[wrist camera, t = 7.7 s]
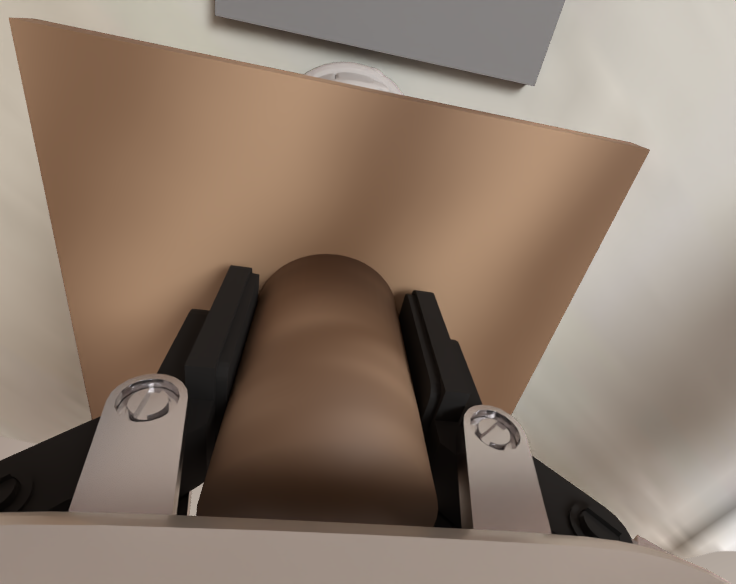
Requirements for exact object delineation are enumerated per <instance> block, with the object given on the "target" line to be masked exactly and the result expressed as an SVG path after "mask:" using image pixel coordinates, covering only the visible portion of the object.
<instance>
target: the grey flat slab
mask: <svg viewBox="0 0 736 584" xmlns="http://www.w3.org/2000/svg"><path fill="white" fill-rule="evenodd" d="M564 2H565V0H215V16H220V17H224V18H229V19H233V20H238V21H242V22H247V23H251V24H256V25H260V26H265V27H269V28H274V29H278V30H283V31H287V32H292V33H296V34H301V35H305V36H310V37H315V38H319V39H324V40H328V41H333V42H337V43H342V44H346V45H351V46H355V47H360V48H364V49H369V50H373V51H378V52H382V53H387V54H391V55H396V56H400V57H405V58H409V59H414V60H418V61H423V62H427V63H432V64H436V65H441V66H445V67H450V68H454V69H459V70H463V71H468V72H472V73H477V74H481V75H486V76H490V77H495V78H499V79H504V80H508V81H513V82H517V83H522V84H526V85H531V86H535V83H536V80H537V77H538V75H539V72H540V69H541V66H542V63H543V61H544V58H545V55H546V52H547V50H548V47H549V44H550V41H551V38H552V36H553V33H554V30H555V27H556V24H557V22H558V19H559V16H560V13H561V11H562V8H563V5H564Z"/></svg>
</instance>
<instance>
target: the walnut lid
mask: <svg viewBox="0 0 736 584" xmlns="http://www.w3.org/2000/svg"><path fill="white" fill-rule="evenodd" d="M9 21H10V26H11V31H12V36H13V41H14V46H15V50H16V55H17V60H18V65H19V70H20V74H21V79H22V84H23V89H24V94H25V99H26V103H27V108H28V113H29V118H30V123H31V127H32V132H33V137H34V142H35V147H36V152H37V156H38V161H39V166H40V171H41V176H42V180H43V185H44V190H45V195H46V200H47V205H48V209H49V214H50V219H51V224H52V229H53V233H54V238H55V243H56V248H57V253H58V258H59V262H60V267H61V272H62V277H63V282H64V286H65V291H66V296H67V301H68V306H69V311H70V315H71V320H72V325H73V330H74V335H75V339H76V344H77V349H78V354H79V359H80V364H81V368H82V373H83V378H84V383H85V388H86V392H87V397H88V402H89V407H90V412H91V417H92V420H93V419H95V418H98V417H100V416H101V414H102V411H103V408H104V406H105V403H106V400H107V399H108V397H109V395H110V393H111V392H112V391H113V390H114V389H115V388H116V387H117V386H119V385H120V384H122V383H123V382H125V381H127V380H129V379H131V378H134V377H137V376H140V375H146V374H157V372H158V370H159V368H160V366H161V364H162V362H163V360H164V359H165V357H166V355H167V353H168V351H169V349H170V347H171V345H172V343H173V342H174V340H175V338H176V336H177V334H178V332H179V330H180V328H181V326H182V325H183V323H184V321H185V319H186V317H187V315H188V313H189V312H190V310H191V309H201V310H210V309H211V307H212V304H213V302H214V300H215V298H216V296H217V293H218V291H219V289H220V287H221V285H222V283H223V280H224V278H225V276H226V274H227V272H228V269H229V267H230V266H231V265H234V266H242V267H249V268H252V273H254V274H259V292H258V302H257V306H256V309H255V313H254V316H253V319H252V323H251V326H250V330H249V333H248V336H247V340H246V343H245V346H244V350H243V353H242V357H241V360H240V363H239V367H238V370H237V374H236V377H235V380H234V384H233V387H232V390H231V394H230V397H229V401H228V404H227V407H226V410H225V413H224V417H223V420H222V423H221V427H220V430H219V433H218V437H217V440H216V444H215V447H214V450H213V454H212V457H211V460H210V464H209V467H208V471H207V474H206V477H205V481H204V484H203V487H202V491H201V494H200V498H199V501H198V504H197V514H196V515H197V516H206V517H230V518H253V519H276V520H297V521H318V522H340V523H360V524H381V525H401V526H421V527H433V526H434V524H435V521H436V518H437V513H438V501H437V496H436V491H435V486H434V482H433V477H432V472H431V467H430V463H429V458H428V453H427V449H426V444H425V439H424V434H423V430H422V425H421V420H420V416H419V411H418V406H417V402H416V397H415V392H414V387H413V383H412V378H411V373H410V369H409V364H408V359H407V355H406V350H405V345H404V340H403V336H402V331H401V326H400V322H399V314H400V311H401V307H402V303H403V300H404V297H405V295H406V294H411V293H412V292H413V290H418V291H426V292H432V293H434V295H435V298H436V300H437V303H438V306H439V309H440V311H441V314H442V317H443V320H444V322H445V325H446V328H447V331H448V333H449V336H450V339H453V340H456V341H458V343H459V345H460V347H461V350H462V352H463V355H464V358H465V360H466V363H467V365H468V368H469V371H470V373H471V376H472V378H473V381H474V383H475V386H476V389H477V391H478V394H479V396H480V399H481V402H482V404H483V405H489V406H493V407H496V408H499V409H501V410H503V411H505V412H507V413H508V414H510V415H511V414H512V413H513V411H514V409H515V407H516V405H517V403H518V401H519V399H520V397H521V395H522V393H523V392H524V390H525V388H526V386H527V384H528V382H529V380H530V378H531V376H532V374H533V372H534V371H535V369H536V367H537V365H538V363H539V361H540V359H541V357H542V355H543V353H544V351H545V349H546V348H547V346H548V344H549V342H550V340H551V338H552V336H553V334H554V332H555V330H556V328H557V327H558V325H559V323H560V321H561V319H562V317H563V315H564V313H565V311H566V309H567V307H568V306H569V304H570V302H571V300H572V298H573V296H574V294H575V292H576V290H577V288H578V286H579V285H580V283H581V281H582V279H583V277H584V275H585V273H586V271H587V269H588V267H589V265H590V264H591V262H592V260H593V258H594V256H595V254H596V252H597V250H598V248H599V246H600V244H601V243H602V241H603V239H604V237H605V235H606V233H607V231H608V229H609V227H610V225H611V223H612V221H613V220H614V218H615V216H616V214H617V212H618V210H619V208H620V206H621V204H622V202H623V200H624V199H625V197H626V195H627V193H628V191H629V189H630V187H631V185H632V183H633V181H634V179H635V178H636V176H637V174H638V172H639V170H640V168H641V166H642V164H643V162H644V160H645V158H646V157H647V155H648V153H649V151H650V150H649V149H646V148H644V147H641V146H638V145H636V144H633V143H631V142H626V141H621V140H616V139H611V138H607V137H602V136H597V135H592V134H587V133H582V132H578V131H573V130H568V129H563V128H558V127H554V126H549V125H544V124H539V123H534V122H529V121H525V120H520V119H515V118H510V117H505V116H501V115H496V114H491V113H486V112H481V111H476V110H472V109H467V108H462V107H457V106H452V105H448V104H443V103H438V102H433V101H428V100H423V99H419V98H414V97H409V96H404V95H399V94H395V93H390V92H385V91H380V90H375V89H370V88H366V87H361V86H356V85H351V84H346V83H342V82H337V81H332V80H327V79H322V78H317V77H313V76H308V75H303V74H298V73H293V72H289V71H284V70H279V69H274V68H269V67H264V66H260V65H255V64H250V63H245V62H240V61H236V60H231V59H226V58H221V57H216V56H211V55H207V54H202V53H197V52H192V51H187V50H183V49H178V48H173V47H168V46H163V45H158V44H154V43H149V42H144V41H139V40H134V39H130V38H125V37H120V36H115V35H110V34H105V33H101V32H96V31H91V30H86V29H81V28H76V27H72V26H67V25H62V24H57V23H52V22H48V21H43V20H38V19H29V18H9Z"/></svg>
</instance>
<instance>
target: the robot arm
mask: <svg viewBox="0 0 736 584" xmlns="http://www.w3.org/2000/svg"><path fill="white" fill-rule="evenodd" d="M258 292H259V274H254V273H252V268H249V267H242V266H234V265H231V266H230V267H229V269H228V272H227V274H226V276H225V278H224V280H223V283H222V285H221V287H220V289H219V291H218V293H217V296H216V298H215V300H214V302H213V304H212V307H211V309H210V310H201V309H191V310H190V312H189V313H188V315H187V317H186V319H185V321H184V323H183V325H182V326H181V328H180V330H179V332H178V334H177V336H176V338H175V340H174V342H173V343H172V345H171V347H170V349H169V351H168V353H167V355H166V357H165V359H164V360H163V362H162V364H161V366H160V368H159V370H158V372H157V374H146V375H140V376H137V377H134V378H131V379H129V380H127V381H125V382H123V383H122V384H120V385H119V386H117V387H116V388H115V389H114V390H113V391H112V392H111V393H110V395H109V397H108V399H107V400H106V403H105V406H104V408H103V411H102V414H101V416H100V417H98V418H95V419H93V420H91V421H89V422H86V423H84V424H82V425H80V426H77V427H75V428H73V429H71V430H68V431H66V432H64V433H62V434H59V435H57V436H55V437H53V438H50V439H48V440H46V441H44V442H41V443H39V444H37V445H35V446H32V447H30V448H28V449H26V450H23V451H21V452H19V453H17V454H14V455H12V456H10V457H8V458H5V459H3V460H1V461H0V584H732V583H730V582H729V581H727V580H725V579H723V578H722V577H720V576H718V575H716V574H714V573H713V572H711V571H709V570H707V569H705V568H702V567H700V566H698V565H695V564H693V563H691V562H688V561H686V560H684V559H681V558H679V557H677V556H675V555H673V554H671V553H669V552H667V551H666V550H664V549H662V548H660V547H658V546H657V545H655V544H653V543H651V542H649V541H648V540H646V539H644V538H642V537H640V536H639V535H637V536H636V537H635V538H634V539H632V538H631V537H630V535H629V533H628V532H627V530H626V528H625V527H624V525H623V524H622V523H621V522H620V521H619V520H618V518H617V517H616V516H615V515H614V514H612V513H611V512H610V511H609V510H608V509H606V508H605V507H604V506H602V505H601V504H599V503H598V502H597V501H595V500H594V499H592V498H591V497H590V496H588V495H587V494H585V493H584V492H582V491H581V490H580V489H578V488H577V487H575V486H574V485H573V484H571V483H570V482H568V481H567V480H566V479H564V478H563V477H561V476H560V475H558V474H557V473H556V472H554V471H553V470H551V469H550V468H549V467H547V466H546V465H544V464H543V463H541V462H540V461H539V460H537V459H536V458H534V457H533V456H532V455H531V451H530V447H529V443H528V439H527V436H526V433H525V431H524V429H523V427H522V426H521V425H520V424H519V422H518V421H517V420H516V419H515V418H513V417H512V416H511V415H510V414H508V413H507V412H505V411H503V410H501V409H499V408H496V407H493V406H489V405H483V404H482V402H481V399H480V396H479V394H478V391H477V389H476V386H475V383H474V381H473V378H472V376H471V373H470V371H469V368H468V365H467V363H466V360H465V358H464V355H463V352H462V350H461V347H460V345H459V343H458V341H456V340H453V339H450V336H449V333H448V331H447V328H446V325H445V322H444V320H443V317H442V314H441V311H440V309H439V306H438V303H437V300H436V298H435V295H434V293H432V292H426V291H418V290H413V292H412V293H411V294H406V295H405V297H404V300H403V303H402V307H401V311H400V314H399V322H400V326H401V331H402V336H403V340H404V345H405V350H406V355H407V359H408V364H409V369H410V373H411V378H412V383H413V387H414V392H415V397H416V402H417V406H418V411H419V416H420V420H421V425H422V430H423V434H424V439H425V444H426V449H427V453H428V458H429V463H430V467H431V472H432V477H433V482H434V486H435V491H436V496H437V501H438V513H437V518H436V521H435V524H434V526H433V527H421V526H401V525H381V524H360V523H340V522H318V521H297V520H276V519H253V518H230V517H206V516H189V513H190V503H191V490H193V489H194V488H196V487H197V486H199V485H200V484H202V483H204V481H205V477H206V474H207V471H208V467H209V464H210V460H211V457H212V454H213V450H214V447H215V444H216V440H217V437H218V433H219V430H220V427H221V423H222V420H223V417H224V413H225V410H226V407H227V404H228V401H229V397H230V394H231V390H232V387H233V384H234V380H235V377H236V374H237V370H238V367H239V363H240V360H241V357H242V353H243V350H244V346H245V343H246V340H247V336H248V333H249V330H250V326H251V323H252V319H253V316H254V313H255V309H256V306H257V302H258Z"/></svg>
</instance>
